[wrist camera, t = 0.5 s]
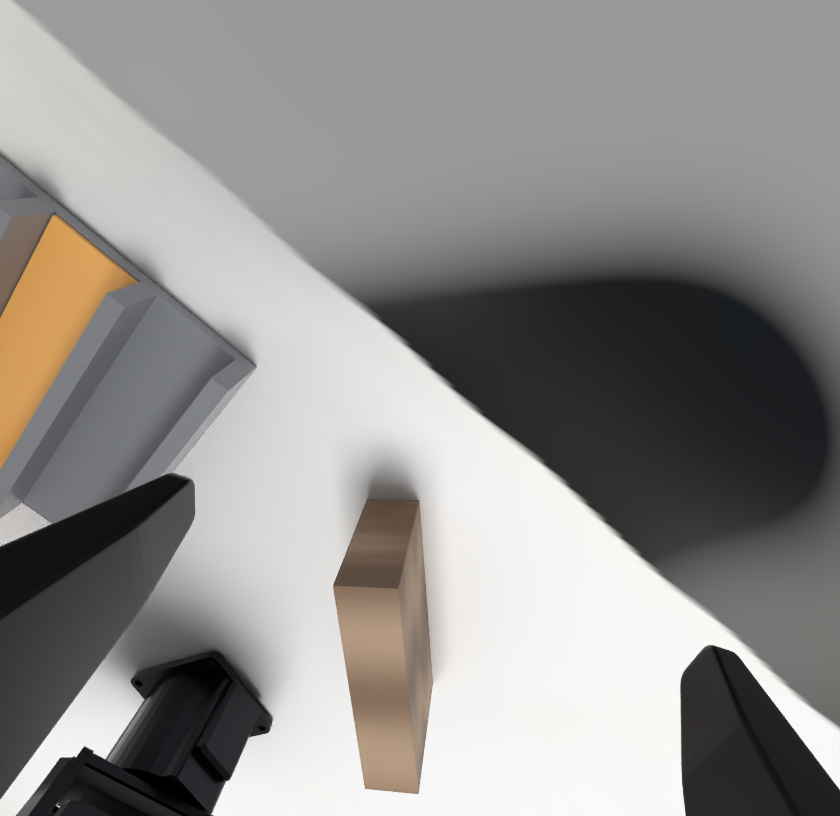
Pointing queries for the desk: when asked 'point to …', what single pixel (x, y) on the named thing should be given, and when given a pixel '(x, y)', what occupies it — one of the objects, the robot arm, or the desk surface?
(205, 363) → the rack
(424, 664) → the panel
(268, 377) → the desk surface
